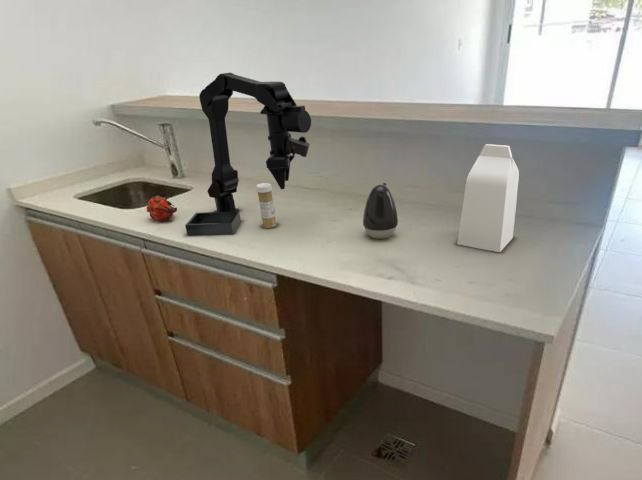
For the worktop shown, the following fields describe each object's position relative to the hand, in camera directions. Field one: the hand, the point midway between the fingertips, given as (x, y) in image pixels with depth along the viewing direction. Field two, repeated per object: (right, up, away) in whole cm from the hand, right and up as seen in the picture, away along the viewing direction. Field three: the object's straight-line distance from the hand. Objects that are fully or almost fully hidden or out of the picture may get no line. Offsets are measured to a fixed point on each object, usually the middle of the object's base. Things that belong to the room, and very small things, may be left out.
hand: (284, 184), depth 142 cm
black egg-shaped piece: (+29, -16, -3) cm, 33 cm away
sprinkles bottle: (-6, -11, +8) cm, 15 cm away
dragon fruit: (-44, -7, +19) cm, 48 cm away
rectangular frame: (-24, -12, +8) cm, 28 cm away
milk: (+58, -19, -11) cm, 62 cm away
